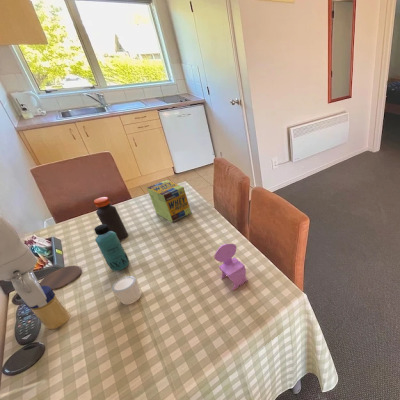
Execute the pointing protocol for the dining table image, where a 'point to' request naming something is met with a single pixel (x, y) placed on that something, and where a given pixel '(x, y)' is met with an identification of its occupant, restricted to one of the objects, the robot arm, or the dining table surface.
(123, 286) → the shot glass
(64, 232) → the dining table surface
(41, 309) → the honey jar
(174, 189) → the protein box
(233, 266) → the toy chair
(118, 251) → the beverage bottle
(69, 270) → the coaster
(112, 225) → the vinegar
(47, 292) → the lid
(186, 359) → the dining table surface
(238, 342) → the dining table surface
